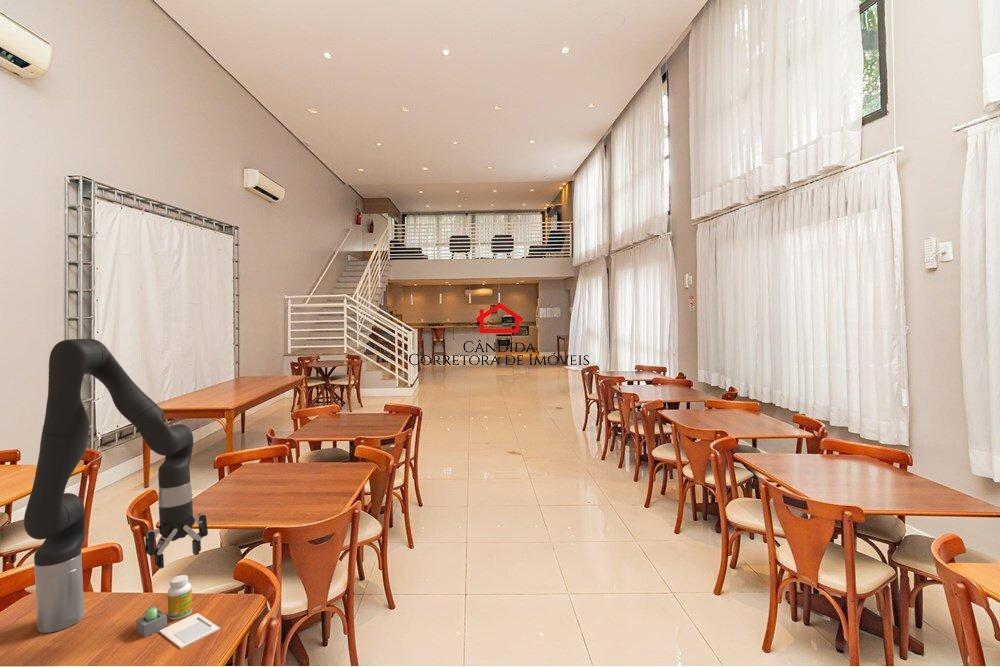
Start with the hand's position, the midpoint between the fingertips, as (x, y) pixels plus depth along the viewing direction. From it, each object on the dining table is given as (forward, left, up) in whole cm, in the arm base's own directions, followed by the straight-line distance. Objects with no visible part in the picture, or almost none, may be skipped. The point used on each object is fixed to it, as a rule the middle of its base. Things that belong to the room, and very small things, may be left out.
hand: (178, 560), depth 132 cm
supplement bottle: (0, 0, -15) cm, 15 cm away
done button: (+1, -7, -13) cm, 15 cm away
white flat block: (+10, -2, -15) cm, 18 cm away
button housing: (+1, -7, -15) cm, 16 cm away
